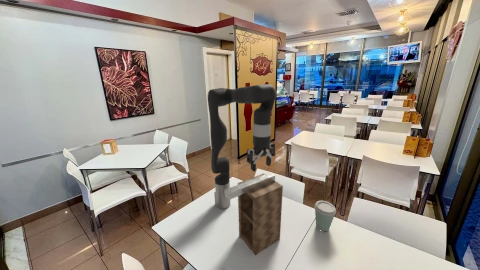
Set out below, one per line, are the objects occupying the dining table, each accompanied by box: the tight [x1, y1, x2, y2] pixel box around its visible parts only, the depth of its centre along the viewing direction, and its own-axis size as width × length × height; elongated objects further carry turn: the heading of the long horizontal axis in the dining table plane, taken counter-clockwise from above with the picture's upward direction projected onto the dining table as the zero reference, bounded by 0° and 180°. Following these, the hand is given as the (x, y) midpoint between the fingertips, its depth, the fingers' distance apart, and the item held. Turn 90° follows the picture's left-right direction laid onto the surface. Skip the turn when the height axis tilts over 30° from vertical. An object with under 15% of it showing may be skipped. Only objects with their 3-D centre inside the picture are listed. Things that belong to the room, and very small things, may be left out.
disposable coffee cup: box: [314, 200, 337, 232], centre depth 105 cm, size 11×11×15 cm
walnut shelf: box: [237, 173, 284, 256], centre depth 97 cm, size 16×14×32 cm
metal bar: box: [225, 172, 276, 201], centre depth 89 cm, size 26×4×3 cm, turn 123°
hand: (261, 168), depth 87 cm, fingers open, 8 cm apart
